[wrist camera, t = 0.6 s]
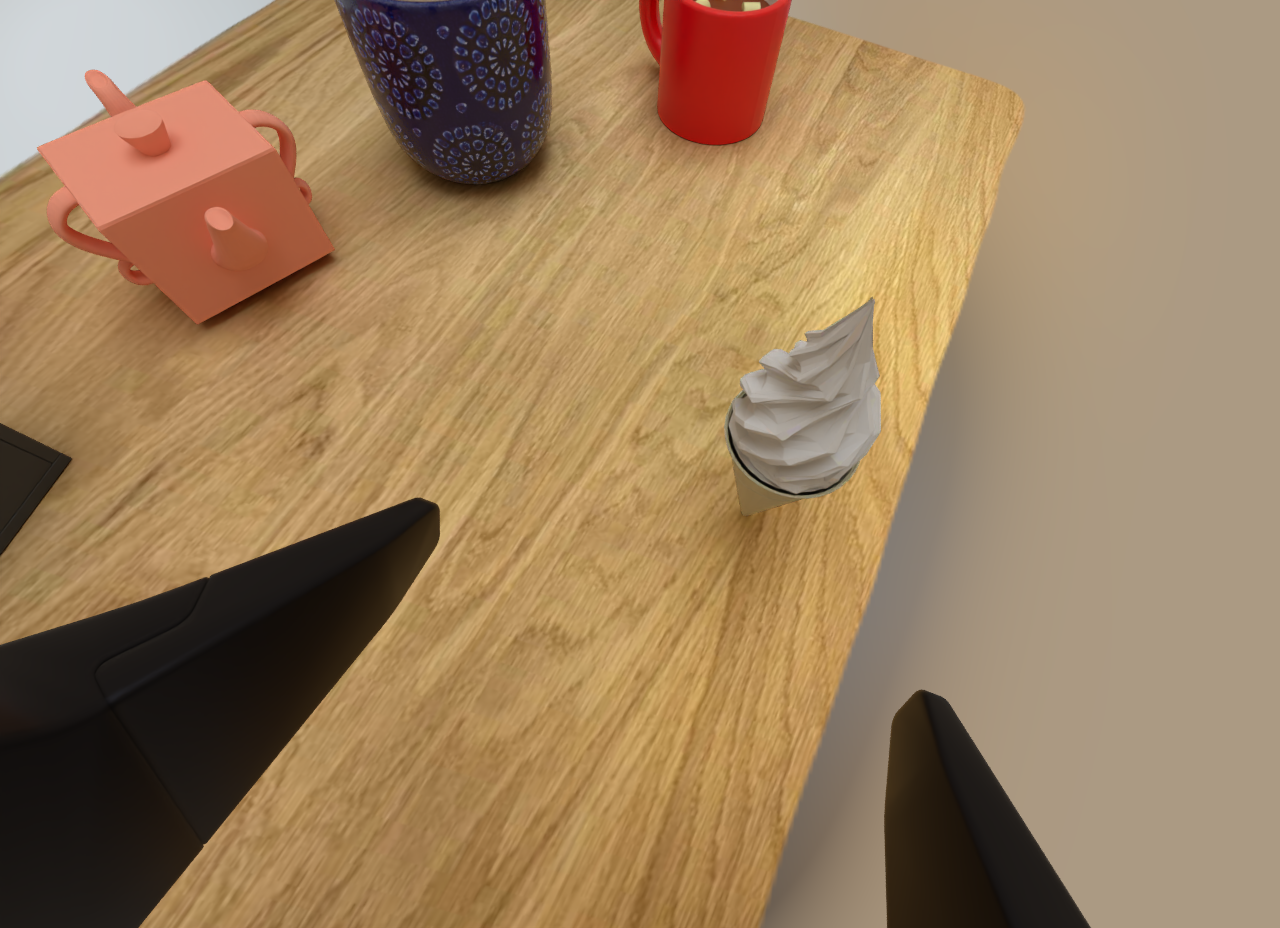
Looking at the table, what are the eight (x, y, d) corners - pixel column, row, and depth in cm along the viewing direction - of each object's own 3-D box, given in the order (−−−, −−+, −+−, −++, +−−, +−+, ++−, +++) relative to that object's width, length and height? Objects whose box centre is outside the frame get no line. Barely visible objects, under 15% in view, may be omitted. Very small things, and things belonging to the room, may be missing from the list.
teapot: (207, 395, 29) (63, 279, 21) (90, 238, 33) (-65, 94, 26) (402, 281, 33) (338, 148, 25) (275, 152, 37) (187, 6, 29)
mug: (673, 41, 44) (684, -90, 37) (785, 115, 41) (820, -14, 34) (598, 77, 42) (595, -55, 35) (710, 159, 38) (732, 31, 31)
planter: (405, 101, 40) (333, -110, 30) (557, 99, 41) (538, -107, 31) (389, 208, 35) (298, 1, 25) (562, 203, 36) (541, 1, 26)
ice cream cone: (795, 470, 28) (959, 239, 15) (797, 566, 26) (991, 398, 13) (698, 459, 28) (773, 219, 15) (692, 555, 26) (774, 374, 13)
